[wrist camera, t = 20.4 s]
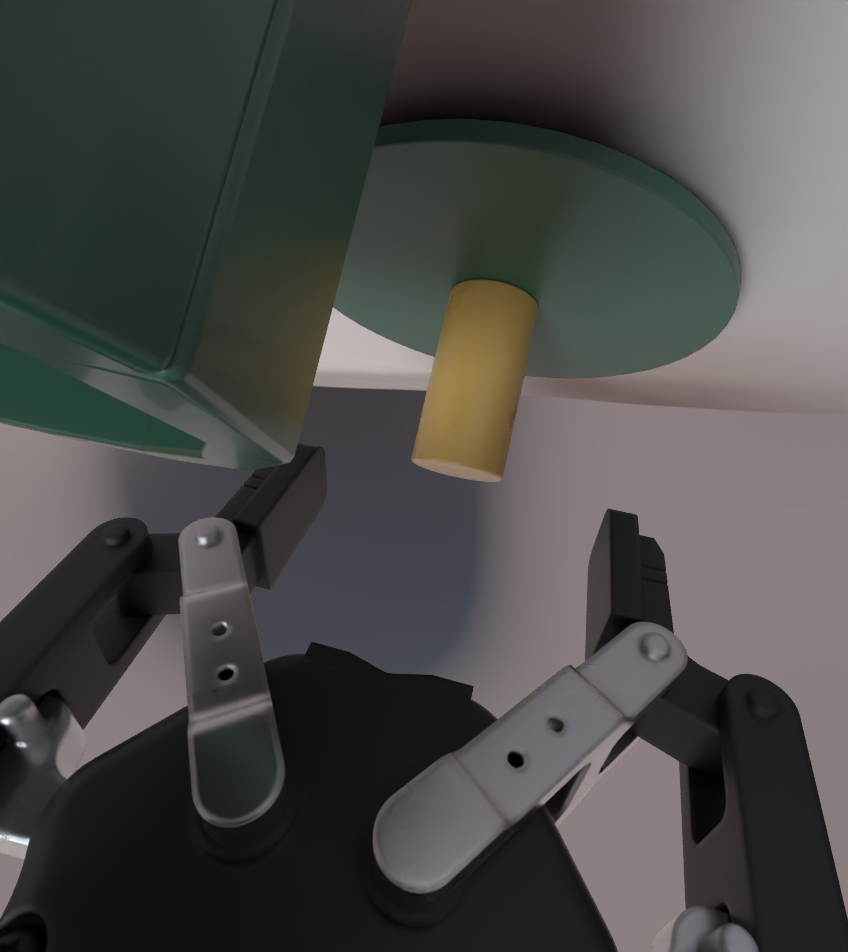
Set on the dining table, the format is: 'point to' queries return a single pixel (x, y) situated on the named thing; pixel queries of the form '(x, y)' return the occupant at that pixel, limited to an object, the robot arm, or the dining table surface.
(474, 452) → the tin lid
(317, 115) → the tin
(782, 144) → the dining table surface
